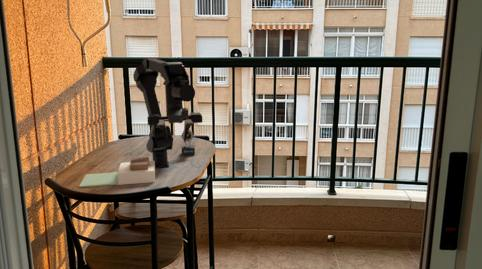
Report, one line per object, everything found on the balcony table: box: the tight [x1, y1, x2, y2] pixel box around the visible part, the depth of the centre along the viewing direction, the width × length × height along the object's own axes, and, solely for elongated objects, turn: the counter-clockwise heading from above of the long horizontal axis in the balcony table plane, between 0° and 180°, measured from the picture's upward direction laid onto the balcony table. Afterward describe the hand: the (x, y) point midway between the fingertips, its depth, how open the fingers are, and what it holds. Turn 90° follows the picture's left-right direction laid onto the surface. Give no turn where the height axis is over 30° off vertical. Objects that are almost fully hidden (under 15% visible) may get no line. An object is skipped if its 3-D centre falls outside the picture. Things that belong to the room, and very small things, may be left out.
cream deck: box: [117, 160, 156, 186], centre depth 142 cm, size 13×12×4 cm
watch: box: [181, 128, 196, 156], centre depth 172 cm, size 6×8×11 cm
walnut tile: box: [130, 156, 150, 171], centre depth 141 cm, size 9×6×2 cm, turn 11°
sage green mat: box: [78, 171, 118, 188], centre depth 140 cm, size 13×12×1 cm
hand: (176, 142), depth 142 cm, fingers open, 6 cm apart
